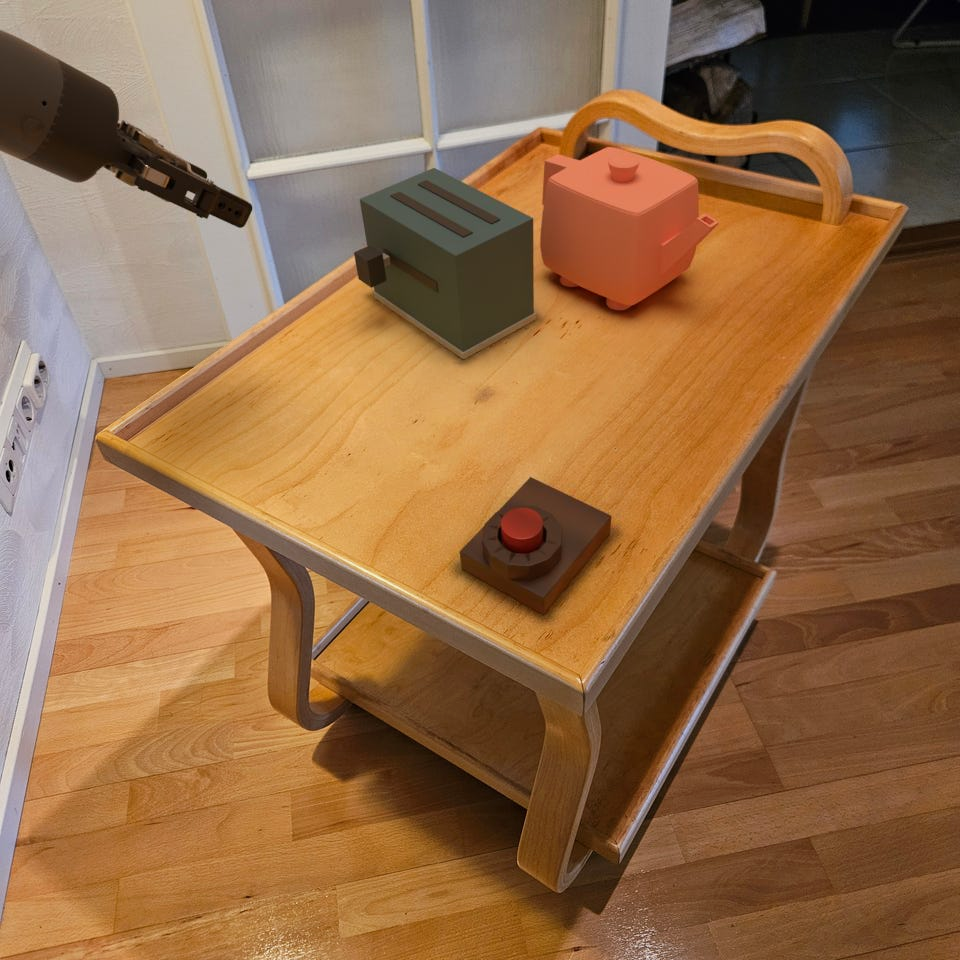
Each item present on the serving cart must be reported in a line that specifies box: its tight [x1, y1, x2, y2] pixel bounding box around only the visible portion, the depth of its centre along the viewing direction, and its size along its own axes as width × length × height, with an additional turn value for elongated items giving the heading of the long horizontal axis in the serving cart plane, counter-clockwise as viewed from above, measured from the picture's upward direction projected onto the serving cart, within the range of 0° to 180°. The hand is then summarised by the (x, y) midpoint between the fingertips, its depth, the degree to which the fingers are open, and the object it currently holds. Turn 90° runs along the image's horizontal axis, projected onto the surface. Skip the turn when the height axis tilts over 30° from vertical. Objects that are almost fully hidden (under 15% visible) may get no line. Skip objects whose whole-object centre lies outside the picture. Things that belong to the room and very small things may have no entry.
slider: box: [353, 245, 391, 289], centre depth 87 cm, size 3×2×3 cm
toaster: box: [359, 167, 537, 360], centre depth 88 cm, size 10×16×12 cm, turn 40°
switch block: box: [459, 476, 613, 616], centre depth 66 cm, size 10×8×4 cm
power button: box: [501, 508, 543, 553], centre depth 63 cm, size 3×3×2 cm
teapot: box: [539, 146, 720, 311], centre depth 90 cm, size 22×13×14 cm, turn 44°
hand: (223, 199), depth 71 cm, fingers open, 8 cm apart
